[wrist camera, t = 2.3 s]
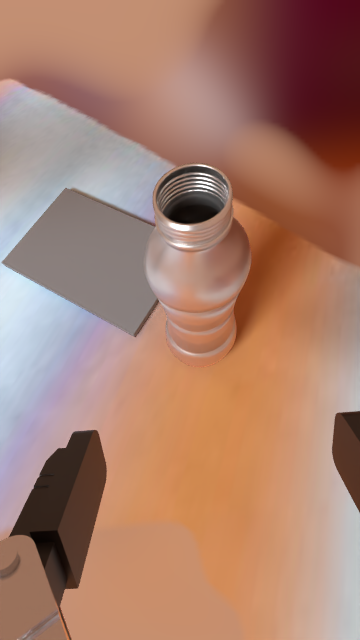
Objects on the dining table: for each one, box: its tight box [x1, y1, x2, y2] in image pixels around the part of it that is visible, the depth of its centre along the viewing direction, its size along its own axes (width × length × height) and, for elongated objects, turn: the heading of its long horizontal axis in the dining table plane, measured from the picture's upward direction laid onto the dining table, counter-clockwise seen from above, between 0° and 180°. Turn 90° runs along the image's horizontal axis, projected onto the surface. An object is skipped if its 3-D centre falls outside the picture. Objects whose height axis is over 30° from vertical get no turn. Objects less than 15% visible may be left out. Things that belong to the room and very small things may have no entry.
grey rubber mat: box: [2, 188, 159, 337], centre depth 38 cm, size 18×12×1 cm, turn 60°
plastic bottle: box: [144, 163, 252, 367], centre depth 24 cm, size 6×7×20 cm
